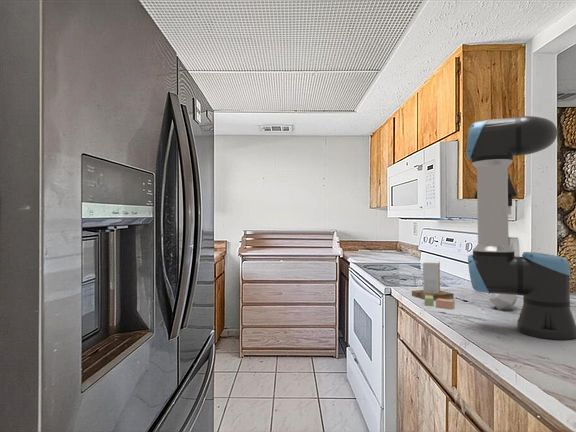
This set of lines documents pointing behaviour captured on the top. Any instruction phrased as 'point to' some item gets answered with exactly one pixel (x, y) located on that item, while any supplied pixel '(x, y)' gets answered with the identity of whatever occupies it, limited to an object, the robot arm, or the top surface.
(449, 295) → the walnut slab
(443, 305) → the terracotta brick
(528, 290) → the robot arm
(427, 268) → the small box
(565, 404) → the top surface
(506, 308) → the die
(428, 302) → the olive brick
